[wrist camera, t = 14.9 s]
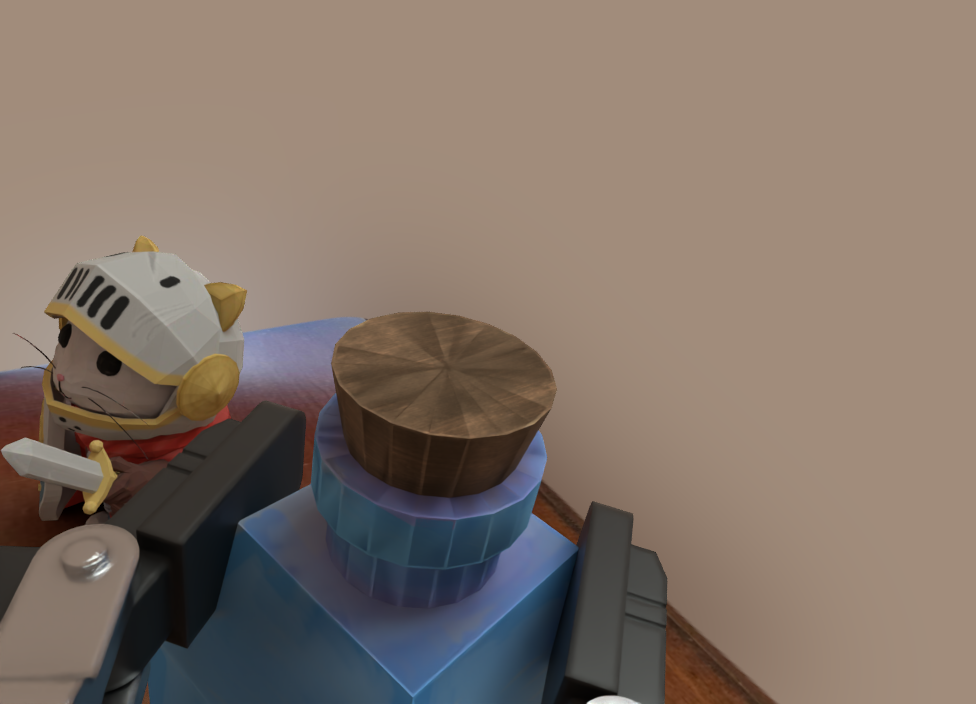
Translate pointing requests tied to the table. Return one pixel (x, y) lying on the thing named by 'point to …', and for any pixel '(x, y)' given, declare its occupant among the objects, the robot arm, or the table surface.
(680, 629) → the table surface
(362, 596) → the perfume bottle
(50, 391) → the figurine
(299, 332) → the table surface
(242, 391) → the table surface
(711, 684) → the table surface
